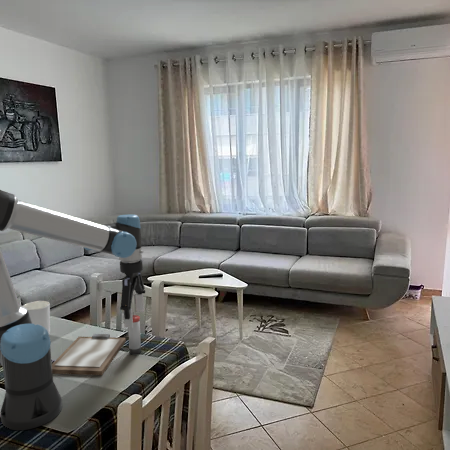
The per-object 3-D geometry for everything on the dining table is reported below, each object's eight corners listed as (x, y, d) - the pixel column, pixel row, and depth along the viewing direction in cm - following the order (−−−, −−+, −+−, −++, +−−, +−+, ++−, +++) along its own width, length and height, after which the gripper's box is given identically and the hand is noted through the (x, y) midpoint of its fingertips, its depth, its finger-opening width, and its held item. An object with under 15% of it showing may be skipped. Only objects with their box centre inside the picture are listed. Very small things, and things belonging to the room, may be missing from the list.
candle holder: (56, 329, 167) (54, 301, 165) (44, 340, 158) (41, 310, 155) (33, 328, 168) (30, 300, 166) (19, 339, 159) (16, 309, 156)
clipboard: (47, 373, 134) (46, 365, 134) (79, 340, 158) (78, 333, 157) (102, 375, 133) (101, 367, 132) (125, 341, 156) (125, 334, 156)
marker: (127, 354, 146) (125, 319, 144) (131, 349, 150) (129, 314, 148) (139, 355, 146) (137, 320, 143) (142, 349, 150) (141, 315, 147)
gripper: (130, 270, 129) (134, 334, 133) (151, 251, 154) (154, 305, 158) (107, 270, 130) (111, 334, 134) (131, 251, 154) (134, 305, 158)
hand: (134, 318), depth 146 cm, fingers open, 13 cm apart
